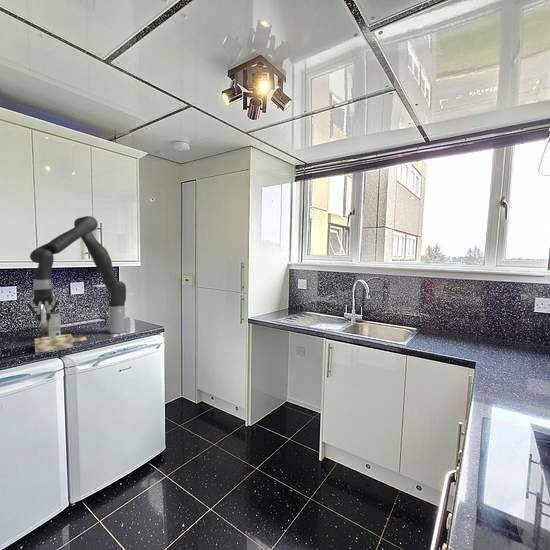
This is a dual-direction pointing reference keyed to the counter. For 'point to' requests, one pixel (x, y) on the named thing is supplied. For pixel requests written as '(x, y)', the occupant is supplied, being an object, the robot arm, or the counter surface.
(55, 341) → the hole block
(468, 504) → the counter surface
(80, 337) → the mat
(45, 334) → the coffee box
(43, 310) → the peg
